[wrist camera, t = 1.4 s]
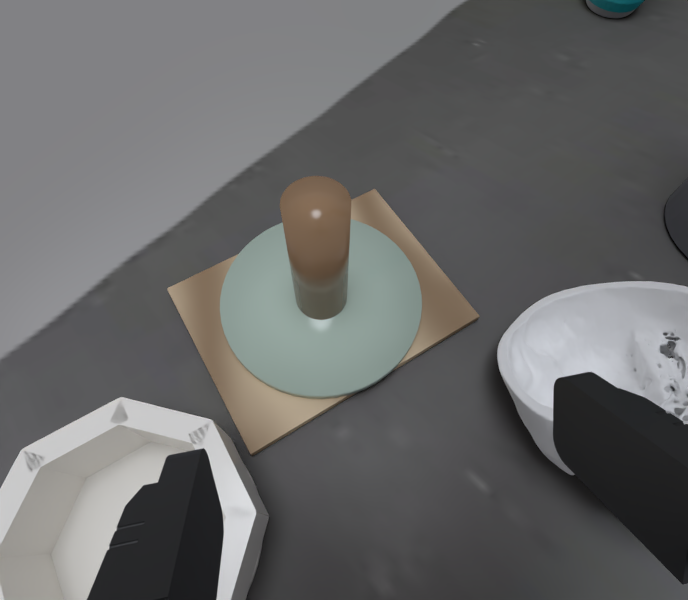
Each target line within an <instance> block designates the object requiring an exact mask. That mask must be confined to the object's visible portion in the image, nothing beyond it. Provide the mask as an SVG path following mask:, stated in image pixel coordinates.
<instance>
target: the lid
mask: <svg viewBox="0 0 688 600" xmlns="http://www.w3.org/2000/svg"><path fill="white" fill-rule="evenodd" d="M280 210H281V216H282V222H283V223H281V224H278V225H276V226H274V227H272V228H270V229H268V230H266V231H264V232H263V233H261V234H260V235H259V236H257V237H256V238H254V239H253V240H252V241H251V242H250V243H249V244H248V245H246V246H245V247H244V249H243V250H242V251H241V252H240V253H239V254H238V255H237V257H236V258H235V260H234V261H233V263H232V264H231V266H230V268H229V270H228V272H227V274H226V277H225V280H224V283H223V286H222V291H221V296H220V316H221V323H222V327H223V331H224V334H225V336H226V339H227V341H228V343H229V345H230V347H231V349H232V351H233V352H234V354H235V355H236V357H237V358H238V360H239V361H240V362H241V364H242V365H243V366H244V367H245V368H246V369H247V370H248V371H249V372H250V373H251V374H252V375H253V376H254V377H256V378H257V379H258V380H260V381H261V382H263V383H264V384H266V385H267V386H269V387H271V388H274V389H276V390H278V391H280V392H283V393H286V394H289V395H292V396H296V397H302V398H308V399H329V398H338V397H343V396H347V395H352V394H354V393H357V392H360V391H363V390H365V389H367V388H369V387H371V386H373V385H374V384H376V383H378V382H379V381H381V380H382V379H383V378H385V377H386V376H387V375H389V374H390V373H391V372H392V371H393V370H394V369H395V368H396V367H397V366H398V365H399V363H400V362H401V361H402V360H403V358H404V357H405V356H406V354H407V352H408V351H409V349H410V347H411V345H412V343H413V341H414V338H415V336H416V333H417V331H418V327H419V323H420V319H421V312H422V294H421V289H420V284H419V281H418V278H417V275H416V272H415V270H414V268H413V266H412V264H411V262H410V261H409V259H408V258H407V257H406V255H405V254H404V252H403V251H402V250H401V249H400V248H399V247H398V246H397V245H396V244H395V243H394V242H393V241H392V240H391V239H390V238H388V237H387V236H386V235H384V234H383V233H381V232H380V231H378V230H376V229H375V228H373V227H371V226H369V225H367V224H364V223H361V222H359V221H356V220H352V219H351V198H350V195H349V193H348V191H347V190H346V188H345V187H344V186H343V185H342V184H340V183H339V182H337V181H335V180H333V179H331V178H328V177H323V176H310V177H305V178H301V179H299V180H297V181H295V182H293V183H292V184H291V185H289V186H288V187H287V188H286V190H285V191H284V192H283V194H282V196H281V200H280Z"/></svg>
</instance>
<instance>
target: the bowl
mask: <svg viewBox="0 0 688 600" xmlns="http://www.w3.org/2000/svg"><path fill="white" fill-rule="evenodd" d="M202 448H204V449H205V450H206V452H207V454H208V457H209V461H210V465H211V469H212V473H213V477H214V481H215V484H216V488H217V492H218V496H219V500H220V504H221V508H222V514H223V525H224V537H223V547H222V555H221V564H220V573H219V581H218V590H217V599H216V600H246V597H247V593H248V590H249V588H250V586H251V584H252V582H253V579H254V576H255V573H256V570H257V567H258V564H259V559H260V555H261V550H262V542H263V537H264V533H265V530H266V526H267V523H268V519H269V514H268V512H267V510H266V508H265V506H264V504H263V502H262V500H261V498H260V496H259V494H258V490H257V488H256V485H255V483H254V480H253V478H252V476H251V474H250V473H249V471H248V469H247V468H246V466H245V465H244V463H243V462H242V460H241V458H240V456H239V454H238V451H237V449H236V447H235V445H234V443H233V441H232V439H231V438H230V437H229V436H228V435H227V434H226V433H225V432H224V431H223V430H222V429H221V428H220V427H219V426H218V425H217V424H216V423H215V422H214V421H213V420H211V419H207V418H203V417H199V416H195V415H191V414H187V413H183V412H179V411H175V410H171V409H167V408H163V407H159V406H155V405H151V404H147V403H143V402H139V401H135V400H131V399H127V398H123V397H121V398H118V399H116V400H114V401H112V402H110V403H108V404H106V405H105V406H103V407H101V408H99V409H97V410H95V411H93V412H91V413H89V414H88V415H86V416H84V417H82V418H80V419H78V420H76V421H74V422H72V423H70V424H69V425H67V426H65V427H63V428H61V429H59V430H57V431H55V432H53V433H52V434H50V435H48V436H46V437H44V438H42V439H40V440H38V441H36V442H34V443H33V444H31V445H29V446H27V447H25V448H23V449H22V450H21V451H20V453H19V455H18V457H17V459H16V461H15V462H14V464H13V466H12V468H11V470H10V472H9V474H8V475H7V477H6V479H5V481H4V483H3V485H2V487H1V488H0V600H87V598H88V596H89V593H90V591H91V588H92V586H93V583H94V581H95V578H96V576H97V574H98V571H99V569H100V566H101V564H102V561H103V559H104V557H105V554H106V552H107V550H109V544H110V542H111V539H112V537H113V535H114V532H115V531H117V525H118V522H119V520H120V518H121V515H122V513H123V510H124V508H125V505H126V504H127V503H128V502H129V501H130V500H131V499H132V498H133V496H134V495H135V494H136V493H137V492H138V491H139V490H140V489H141V487H142V486H143V485H148V484H152V483H157V482H158V480H159V477H160V474H161V471H162V469H163V466H164V463H165V460H166V457H167V456H168V455H172V454H177V453H182V452H187V451H192V450H197V449H202Z"/></svg>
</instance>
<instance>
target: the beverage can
mask: <svg viewBox="0 0 688 600" xmlns="http://www.w3.org/2000/svg"><path fill="white" fill-rule="evenodd" d="M644 1H645V0H586V3H587V6H588V7H589V8H590V9H591V10H592V11H593V12H594V13H596V14H598V15H600V16H603V17H607V18H622V17H625V16H627V15H629V14H631V13H632V12H633V11H634V10H635V9H636V8H637V7H638V6H639V5H640V4H642V3H643V2H644Z"/></svg>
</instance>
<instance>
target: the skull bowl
mask: <svg viewBox="0 0 688 600" xmlns="http://www.w3.org/2000/svg"><path fill="white" fill-rule="evenodd" d="M676 340H677V341H676ZM668 344H669V345H671V348H669V347H668V346H667V345H668ZM669 354H670V355H669ZM668 356H669V357H671V356H673V358H668ZM672 360H673V362H672ZM497 361H498V366H499V371H500V374H501V376H502V378H503V381H504V383H505V385H506V387H507V389H508V391H509V393H510V395H511V397H512V399H513V401H514V403H515V406H516V409H517V411H518V414H519V416H520V418H521V420H522V421H523V423H524V425H525V426H526V428H527V429H528V430H529V432H530V434H531V436H532V438H533V440H534V441H535V443H536V445H537V446H538V447H539V449H540V450H541V451H542V453H543V454H544V455H545V456H546V457H547V458H548V459H549V460H550V461H552V462H553V463H554V464H555V465H557V466H558V467H559V468H560V469H562V470H563V471H565V472H566V473H568V474H570V475H575V474H574V473H573V472H572V471H571V470H570V469H569V468H568V467H567V466H566V465H565V464H564V463H563V461H562V460H561V458H560V457H559V455H558V453H557V451H556V448H555V445H554V441H553V390H554V383H555V381H556V380H557V379H558V378H560V377H565V376H570V375H575V374H580V373H585V372H593V373H595V374H597V375H598V376H600V377H601V378H603V379H604V380H606V381H608V382H609V383H611V384H612V385H614V386H615V387H617V388H620V389H623V390H626V391H629V392H632V393H634V394H637V395H640V396H643V397H645V398H647V399H648V400H650V401H652V402H653V403H655V404H656V405H658V406H660V407H661V408H663V409H664V410H666V413H671V414H672V415H674V416H675V417H677V418H679V419H680V420H682V421H683V423H684V425H685V424H688V287H686V286H681V285H676V284H670V283H661V282H651V281H624V282H611V283H601V284H592V285H585V286H580V287H576V288H572V289H567V290H563V291H560V292H557V293H553V294H551V295H549V296H547V297H545V298H543V299H541V300H539V301H538V302H536V303H534V304H533V305H532V306H530V307H529V308H528V309H527V310H526V311H524V312H523V313H522V314H521V315H520V316H519V317H518V318H517V319H516V320H515V321H514V322H513V323H512V324H511V325H510V327H509V328H508V329H507V331H506V332H505V333H504V334H503V337H502V338H501V340H500V343H499V345H498V350H497Z"/></svg>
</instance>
